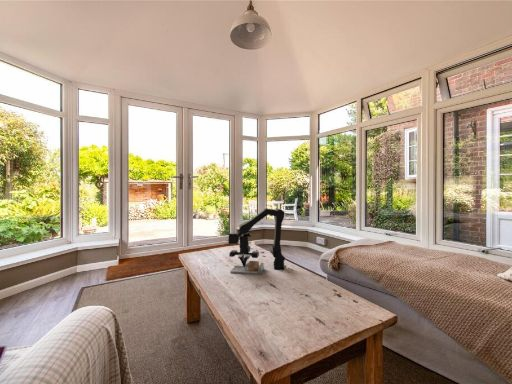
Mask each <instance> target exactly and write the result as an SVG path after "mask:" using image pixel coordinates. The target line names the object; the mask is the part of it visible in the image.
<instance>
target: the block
mask: <svg viewBox="0 0 512 384" xmlns="http://www.w3.org/2000/svg"><path fill="white" fill-rule="evenodd" d="M259 262H260V261H258V260H249V261H248V262H247V263H248V270H249V271H258V267H259V265H260V263H259Z"/></svg>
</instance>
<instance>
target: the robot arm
mask: <svg viewBox="0 0 512 384" xmlns="http://www.w3.org/2000/svg"><path fill="white" fill-rule="evenodd" d="M267 216H273V218H274V219H273V220H274V235H273V236H274V237H273V244H272V245H270V249H269V252H270V253H271V255H272V257H273V258H274V259H273V270H275V271H276V270H277V271H284V270H285V259H286V257H285V256H284V254H282V247H281V236H282V223H283V221H284V218H285V211H284V210H283V209H281V208H276V209H273V208H267V207H266V208H264V209H263V210H262V211H260V212H258V213H257V214H256V215H255V216H254V217H252V218H251V219H249V220H247V221H244V222H243V223H241V224H240V225H239V226H238V227H239V228H238V230H237V231H236V232H234V233H232V232H231V233H230V232H229V233H228V238H227V241H228V242H227V243H228V245H238V243H239V251H238V250H236V249H233V250H231V251H230V252H229V254H228V255H229V256H228V257H229V258H230V257H231V258H233V257H235V256H237V259H239V260H240V262H241V264H242V266H244V267H245V265H246V264H247V263H248V260H249V259H250V258H253V259H258V258H259V256H260V252H259V250H258V251H257V250H253V251H252V252H251V246H250V243H249V238H250V237H252V234H251V233H250V232H249V231H250V230H251V229H253V227H254V226H255V225H256V224H258V223H259V222H260V221H261V220H263V219H264V218H266V217H267Z"/></svg>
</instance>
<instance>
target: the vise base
mask: <svg viewBox="0 0 512 384" xmlns="http://www.w3.org/2000/svg"><path fill="white" fill-rule="evenodd" d="M264 267H265V265H264V262H260V263H259V267H258V271H249V270H248V271H245V267H244V266H243V265H240V264H238V265H237V264H236V265H234V267H233V268H232V269H230V274H243V275H262V274H263V271H264V270H265V268H264Z"/></svg>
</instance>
